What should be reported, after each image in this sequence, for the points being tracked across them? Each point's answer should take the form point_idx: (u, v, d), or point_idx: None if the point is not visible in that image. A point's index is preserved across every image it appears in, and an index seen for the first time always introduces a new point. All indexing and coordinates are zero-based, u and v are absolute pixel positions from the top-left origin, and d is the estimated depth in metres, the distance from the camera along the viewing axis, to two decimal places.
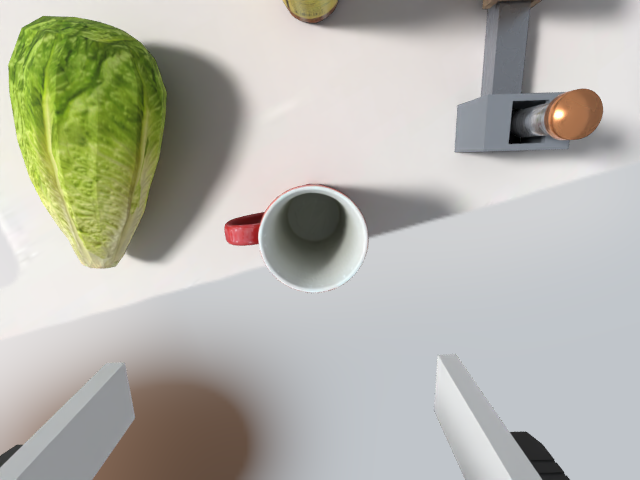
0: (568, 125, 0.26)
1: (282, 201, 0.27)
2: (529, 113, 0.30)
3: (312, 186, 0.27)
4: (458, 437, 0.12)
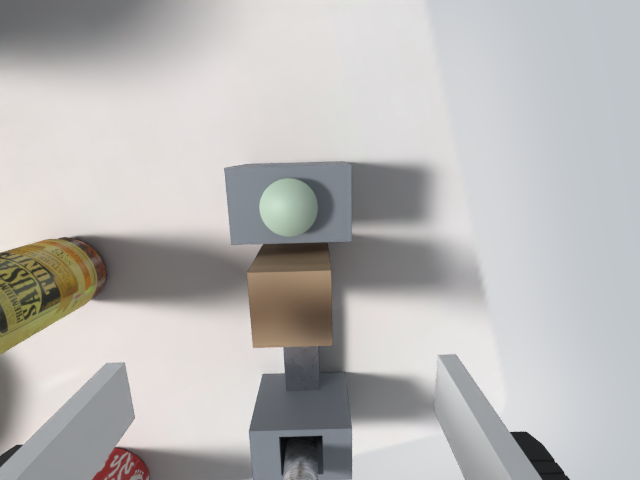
0: None
1: None
2: (284, 472, 0.25)
3: None
4: (458, 437, 0.12)
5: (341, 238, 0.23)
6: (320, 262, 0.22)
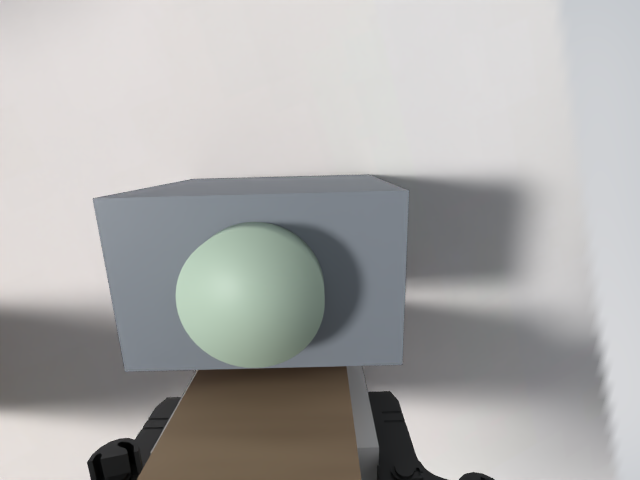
0: None
1: None
2: None
3: None
4: None
5: (378, 358, 0.10)
6: (329, 426, 0.09)
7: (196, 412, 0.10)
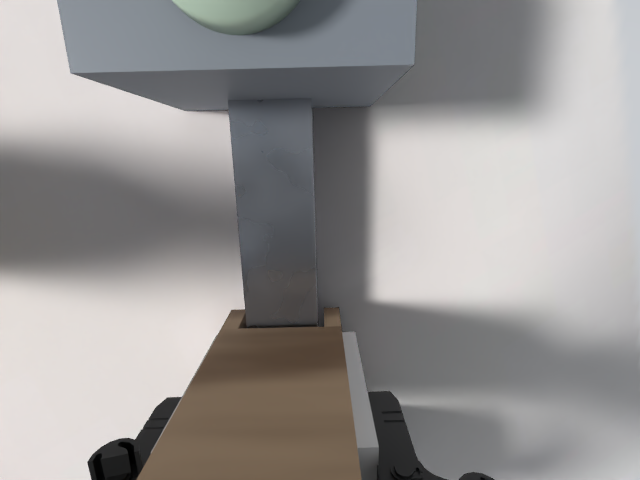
0: None
1: None
2: None
3: None
4: None
5: (385, 54, 0.08)
6: (329, 425, 0.09)
7: (196, 411, 0.10)
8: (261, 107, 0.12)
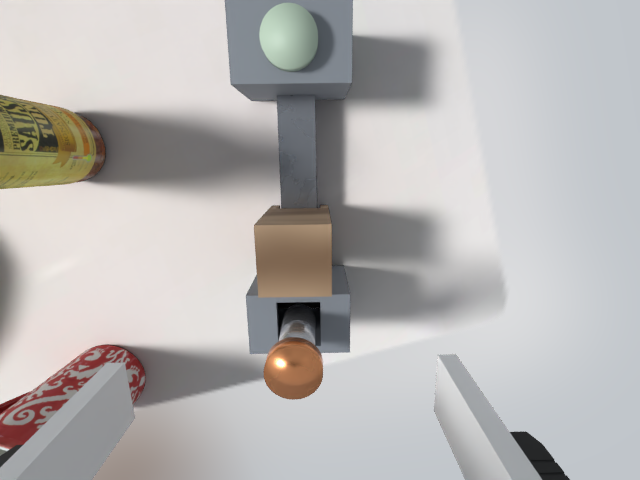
0: (283, 384, 0.21)
1: None
2: (281, 330, 0.25)
3: None
4: (458, 437, 0.12)
5: (341, 79, 0.22)
6: (321, 219, 0.24)
7: (268, 218, 0.24)
8: (292, 98, 0.27)
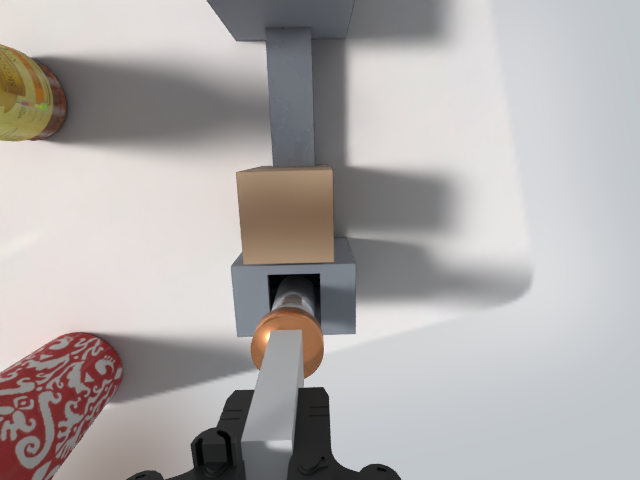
0: None
1: None
2: None
3: None
4: None
5: None
6: (320, 168, 0.19)
7: None
8: (283, 32, 0.23)
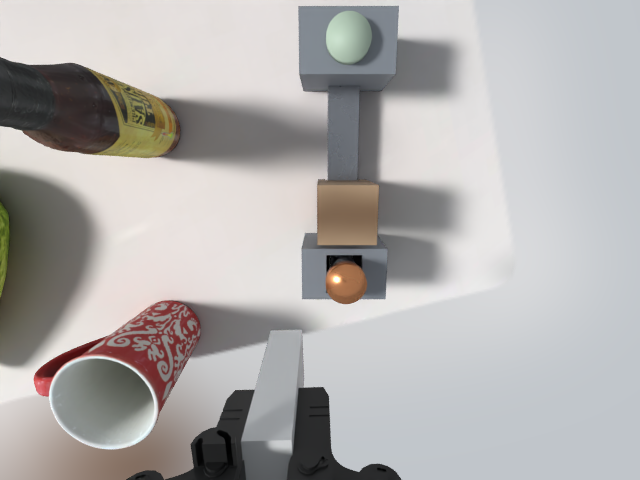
0: (338, 292, 0.30)
1: (72, 365, 0.28)
2: (331, 263, 0.34)
3: (97, 356, 0.27)
4: None
5: (387, 71, 0.28)
6: None
7: (324, 183, 0.30)
8: (340, 88, 0.33)
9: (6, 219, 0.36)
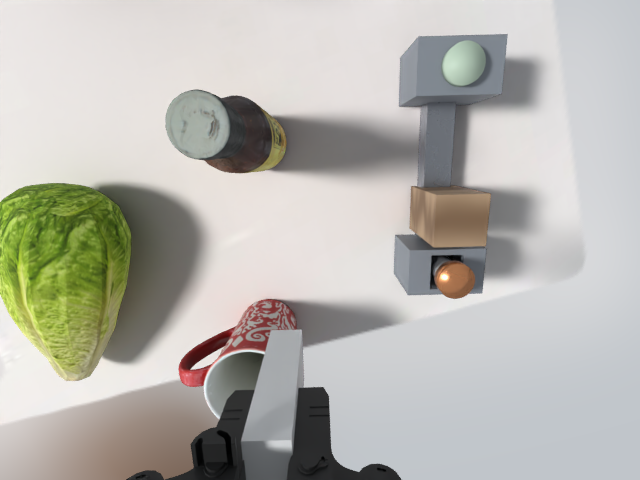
0: (449, 288, 0.34)
1: (224, 358, 0.32)
2: (431, 262, 0.38)
3: (248, 350, 0.31)
4: None
5: (494, 91, 0.32)
6: (476, 191, 0.33)
7: (435, 192, 0.34)
8: (438, 104, 0.36)
9: (129, 229, 0.40)
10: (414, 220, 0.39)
